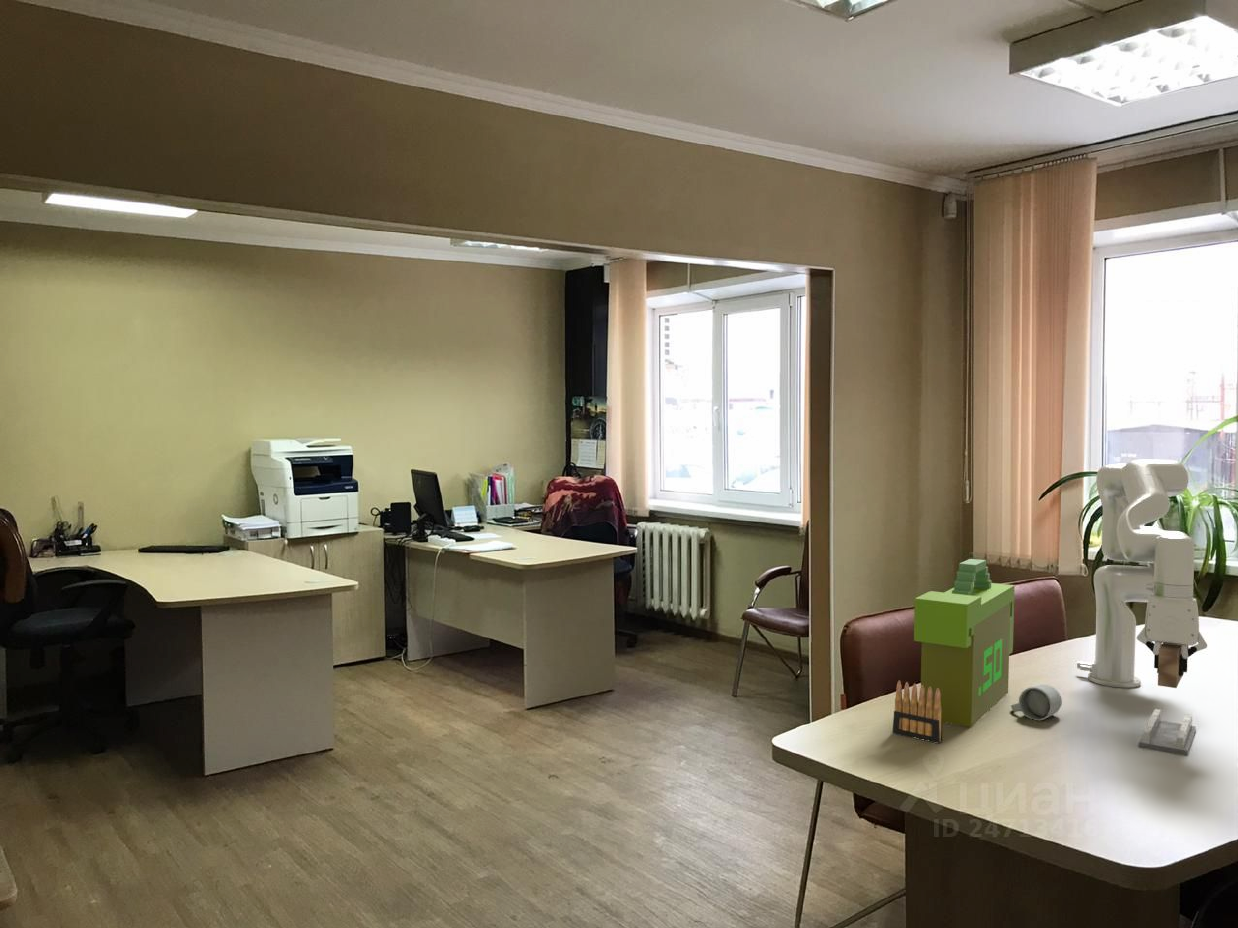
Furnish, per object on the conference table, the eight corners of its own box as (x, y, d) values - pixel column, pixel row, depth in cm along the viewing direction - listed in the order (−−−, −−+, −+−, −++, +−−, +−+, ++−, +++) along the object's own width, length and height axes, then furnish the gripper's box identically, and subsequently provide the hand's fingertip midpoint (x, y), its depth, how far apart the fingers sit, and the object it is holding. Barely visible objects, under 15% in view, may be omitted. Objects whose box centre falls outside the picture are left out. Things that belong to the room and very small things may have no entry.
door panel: (1157, 685, 205) (1158, 648, 205) (1164, 673, 215) (1165, 639, 214) (1176, 688, 203) (1177, 651, 202) (1181, 676, 213) (1183, 641, 212)
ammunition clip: (942, 741, 206) (943, 687, 206) (939, 743, 205) (940, 689, 204) (895, 730, 213) (896, 678, 213) (892, 732, 212) (893, 680, 211)
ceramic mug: (1063, 716, 225) (1064, 684, 225) (1051, 723, 219) (1051, 691, 219) (1018, 707, 232) (1019, 676, 232) (1005, 714, 226) (1005, 682, 226)
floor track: (1138, 746, 204) (1139, 730, 204) (1150, 722, 220) (1151, 708, 220) (1187, 755, 199) (1187, 739, 199) (1195, 730, 215) (1196, 715, 215)
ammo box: (964, 734, 211) (968, 578, 210) (911, 724, 218) (915, 572, 216) (1011, 688, 248) (1015, 555, 246) (965, 681, 255) (969, 551, 253)
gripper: (1128, 589, 210) (1125, 671, 210) (1216, 597, 200) (1213, 683, 201) (1133, 584, 216) (1130, 664, 217) (1218, 592, 206) (1215, 676, 207)
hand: (1170, 672), depth 209 cm, fingers closed on door panel, 3 cm apart
